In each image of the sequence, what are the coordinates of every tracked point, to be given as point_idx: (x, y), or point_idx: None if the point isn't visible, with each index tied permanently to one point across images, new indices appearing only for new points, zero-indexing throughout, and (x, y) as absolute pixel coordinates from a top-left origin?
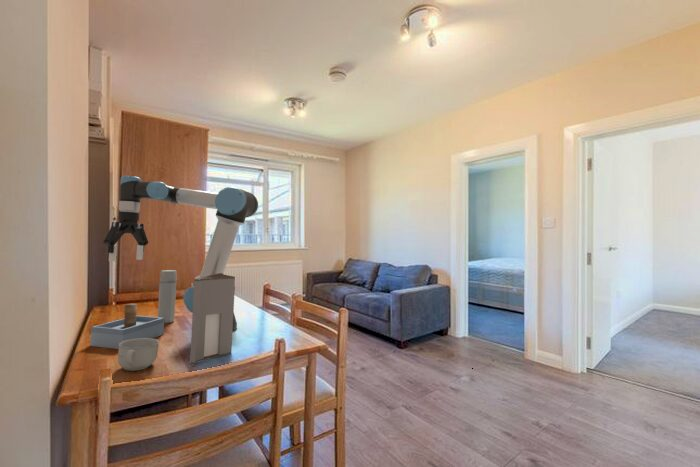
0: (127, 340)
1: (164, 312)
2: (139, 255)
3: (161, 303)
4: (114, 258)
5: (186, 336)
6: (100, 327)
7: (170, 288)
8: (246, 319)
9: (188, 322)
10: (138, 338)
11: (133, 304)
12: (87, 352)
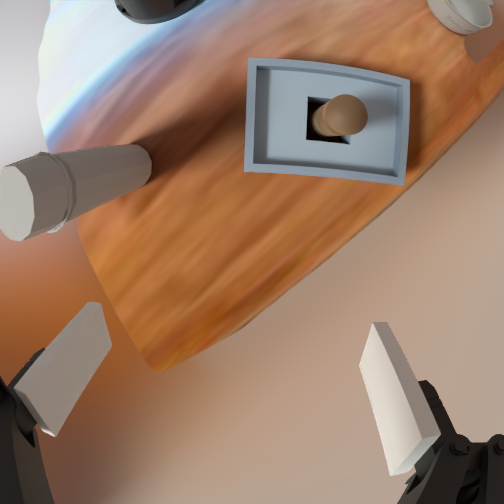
0: (470, 22)
1: (135, 158)
2: (88, 344)
3: (123, 174)
4: (393, 337)
5: (251, 8)
6: (404, 156)
7: (77, 155)
8: (65, 7)
9: (118, 103)
10: (453, 8)
11: (345, 106)
12: (420, 147)
